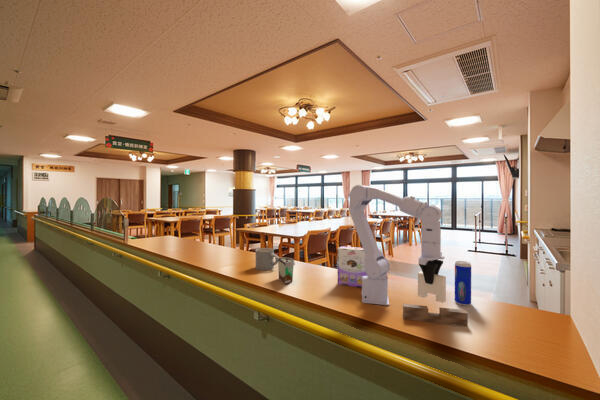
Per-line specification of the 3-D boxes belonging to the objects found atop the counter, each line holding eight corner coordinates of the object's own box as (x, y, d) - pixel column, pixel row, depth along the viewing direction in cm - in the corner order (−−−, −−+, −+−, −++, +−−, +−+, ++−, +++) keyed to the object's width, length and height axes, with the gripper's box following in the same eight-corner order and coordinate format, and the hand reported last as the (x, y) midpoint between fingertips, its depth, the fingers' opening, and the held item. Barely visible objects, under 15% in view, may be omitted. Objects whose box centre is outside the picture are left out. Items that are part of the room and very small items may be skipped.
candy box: (371, 285, 117) (371, 248, 117) (368, 289, 112) (368, 250, 111) (341, 280, 123) (341, 245, 123) (337, 284, 118) (337, 247, 118)
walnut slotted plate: (403, 318, 84) (403, 306, 84) (402, 315, 87) (402, 303, 87) (467, 326, 79) (467, 313, 79) (465, 322, 82) (465, 310, 82)
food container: (298, 284, 118) (298, 261, 118) (285, 285, 116) (285, 263, 116) (289, 276, 130) (289, 256, 130) (277, 277, 127) (277, 257, 127)
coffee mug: (251, 268, 145) (251, 250, 144) (265, 264, 152) (265, 247, 152) (268, 272, 136) (268, 253, 136) (282, 268, 144) (282, 250, 144)
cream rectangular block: (417, 296, 90) (417, 272, 90) (420, 294, 92) (420, 271, 92) (443, 302, 84) (443, 277, 84) (445, 300, 86) (445, 276, 86)
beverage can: (451, 301, 98) (451, 261, 98) (461, 299, 100) (461, 260, 100) (464, 307, 93) (464, 264, 93) (474, 304, 95) (474, 263, 95)
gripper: (435, 246, 80) (435, 290, 80) (451, 240, 90) (451, 280, 90) (412, 243, 85) (412, 285, 85) (430, 238, 95) (429, 276, 95)
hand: (430, 282), depth 88 cm, fingers closed on cream rectangular block, 2 cm apart
